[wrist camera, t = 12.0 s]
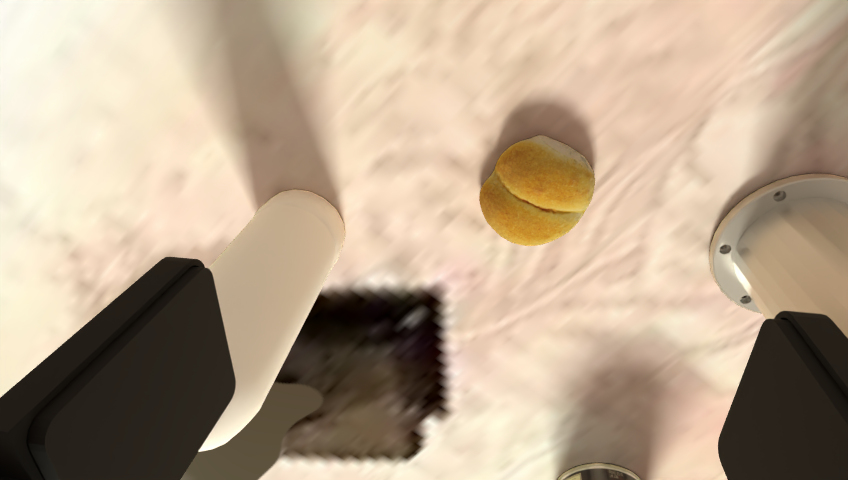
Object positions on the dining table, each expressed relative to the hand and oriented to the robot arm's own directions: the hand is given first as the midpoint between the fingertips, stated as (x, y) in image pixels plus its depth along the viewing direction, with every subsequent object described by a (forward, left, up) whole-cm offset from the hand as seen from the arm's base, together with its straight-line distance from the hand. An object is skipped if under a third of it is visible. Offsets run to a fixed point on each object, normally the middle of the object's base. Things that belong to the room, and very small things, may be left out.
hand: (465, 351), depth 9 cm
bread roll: (-4, +11, -34) cm, 36 cm away
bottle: (+16, +16, -34) cm, 41 cm away
